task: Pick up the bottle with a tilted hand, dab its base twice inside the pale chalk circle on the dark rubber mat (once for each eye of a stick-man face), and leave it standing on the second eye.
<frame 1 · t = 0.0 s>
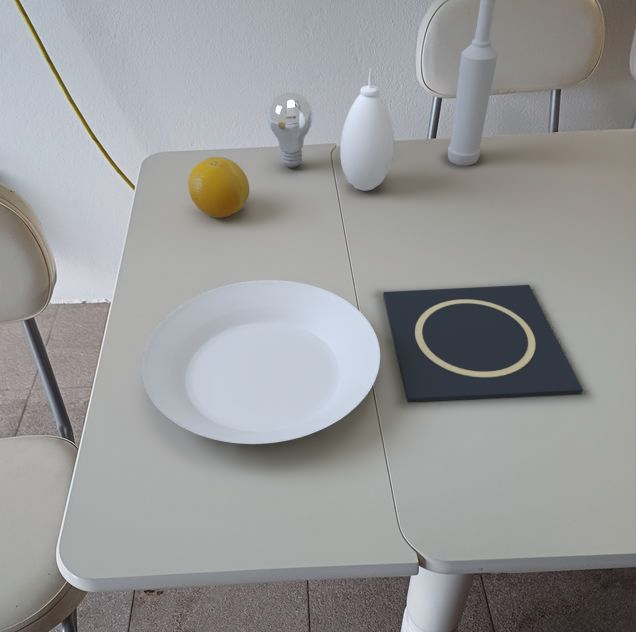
mat: (473, 340, 73), on the table
light bulb: (292, 168, 106), on the table
sauce bottle: (364, 189, 100), on the table
bottle: (462, 159, 106), on the table
white plate: (262, 376, 71), on the table
fruit: (221, 212, 96), on the table
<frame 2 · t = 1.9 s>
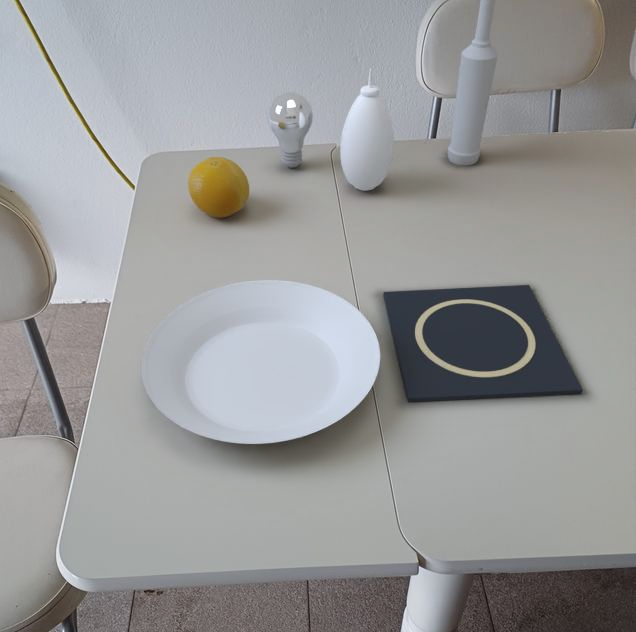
nothing on the table moved.
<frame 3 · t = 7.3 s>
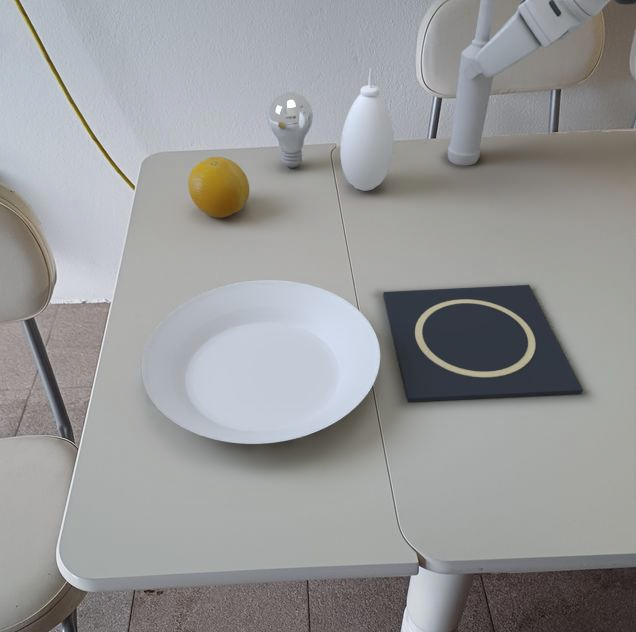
hand: (472, 68, 96), 14 cm above the table, tool tilted 45°, fingers closed on bottle, 5 cm apart
bottle: (462, 160, 106), on the table, touching gripper
everything else where it was.
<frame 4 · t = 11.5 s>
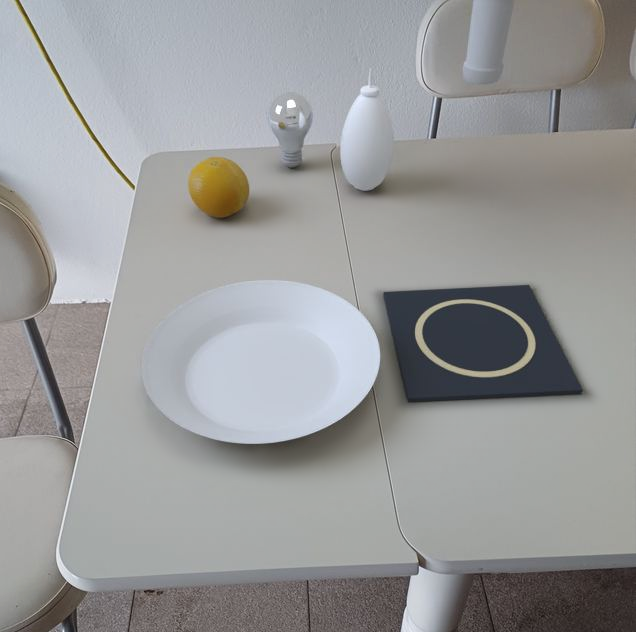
bottle: (480, 79, 87), point 17 cm above the table, touching gripper
everything else where it was.
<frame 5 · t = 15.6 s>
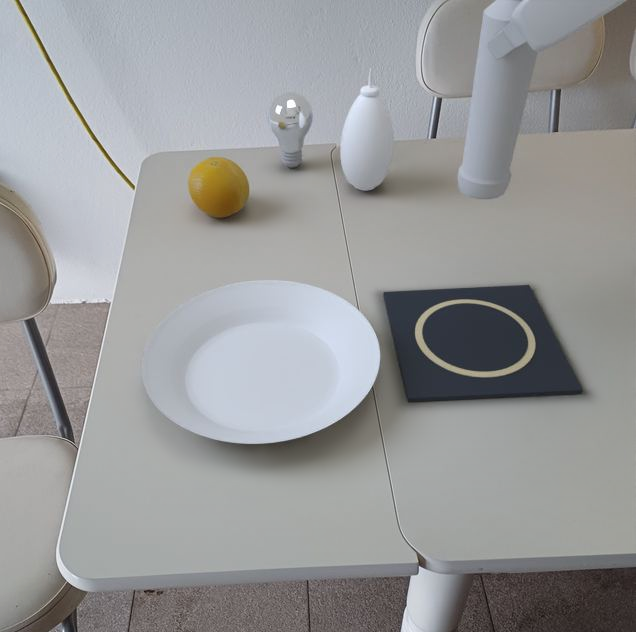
hand: (503, 39, 57), 31 cm above the table, tool tilted 45°, fingers closed on bottle, 5 cm apart
bottle: (481, 189, 66), point 16 cm above the table, touching gripper
everything else where it was.
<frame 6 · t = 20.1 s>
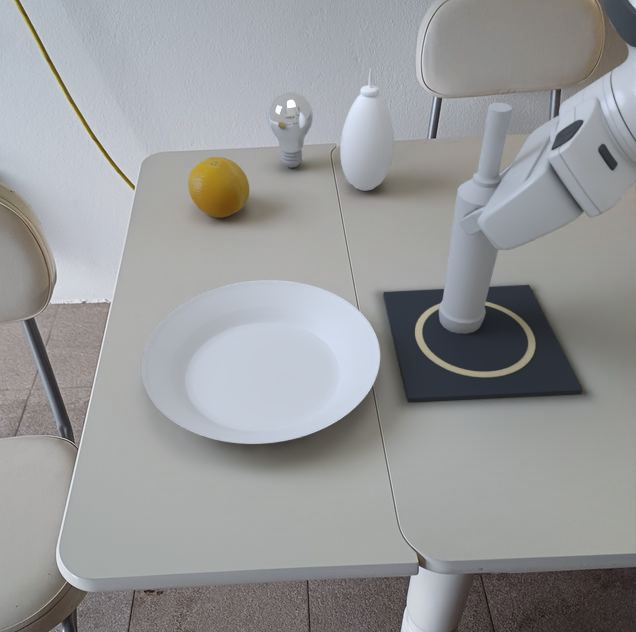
hand: (474, 211, 65), 15 cm above the table, tool tilted 45°, fingers closed on bottle, 5 cm apart
bottle: (459, 321, 75), point 1 cm above the table, touching gripper, mat
everything else where it was.
when the fingers open (15 cm above the table, at t = 23.9 s): bottle stays where it is, resting on mat.
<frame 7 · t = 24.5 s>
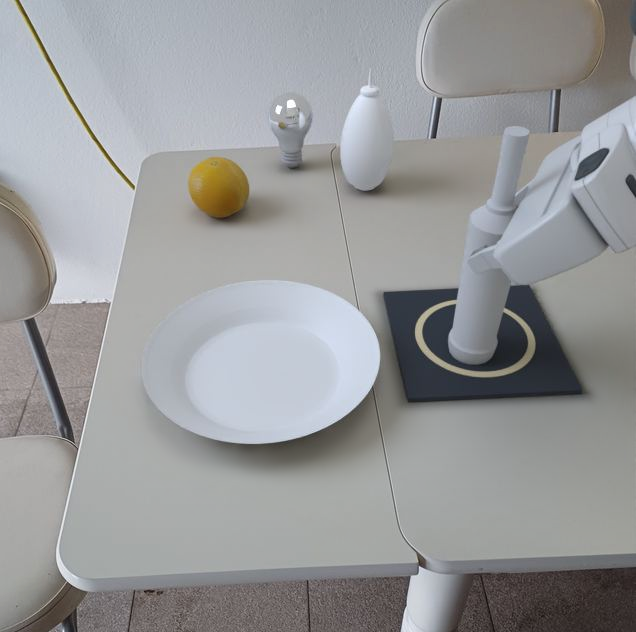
hand: (487, 238, 62), 15 cm above the table, tool tilted 45°, fingers open, 8 cm apart
bottle: (470, 351, 71), point 1 cm above the table, touching mat
everything else where it was.
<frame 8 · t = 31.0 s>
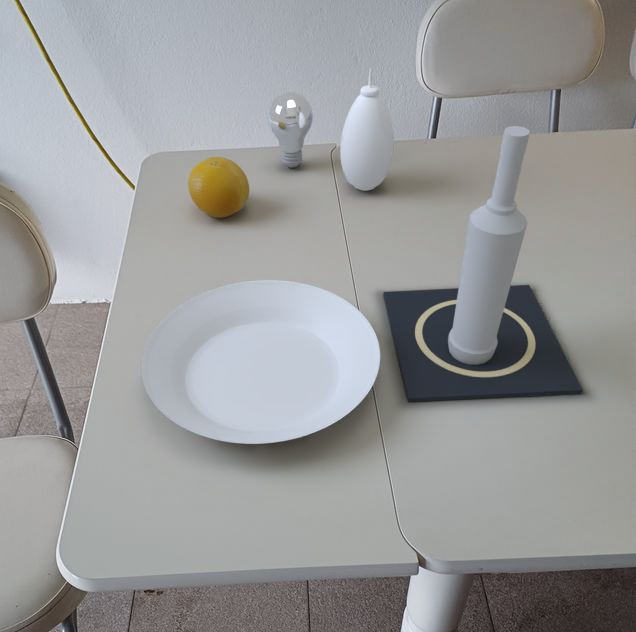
nothing on the table moved.
at the end: bottle inside the target area on the mat (2.6 cm from its centre), point 0.6 cm above the mat's base; bottle tilted 0°; the gripper is holding nothing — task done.
